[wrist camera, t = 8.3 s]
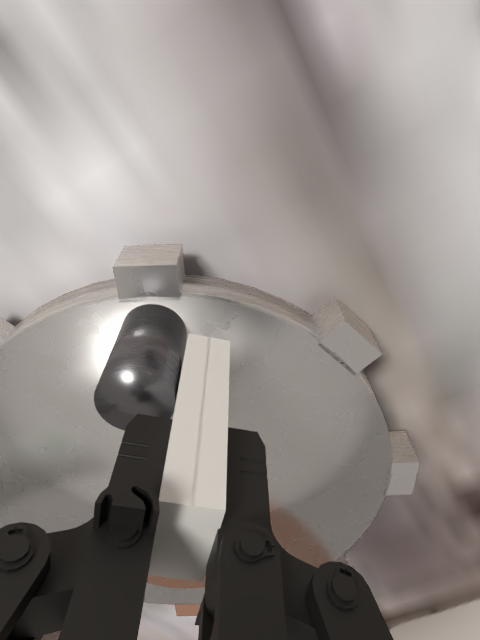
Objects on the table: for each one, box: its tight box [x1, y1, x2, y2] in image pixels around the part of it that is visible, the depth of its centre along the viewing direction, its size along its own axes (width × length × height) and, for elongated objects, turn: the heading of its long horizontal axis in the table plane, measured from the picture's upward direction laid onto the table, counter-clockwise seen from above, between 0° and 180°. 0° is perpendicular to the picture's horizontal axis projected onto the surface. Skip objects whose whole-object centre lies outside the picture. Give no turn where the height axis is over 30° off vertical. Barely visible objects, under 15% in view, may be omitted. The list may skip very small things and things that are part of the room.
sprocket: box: [0, 244, 420, 616], centre depth 20 cm, size 22×22×6 cm
